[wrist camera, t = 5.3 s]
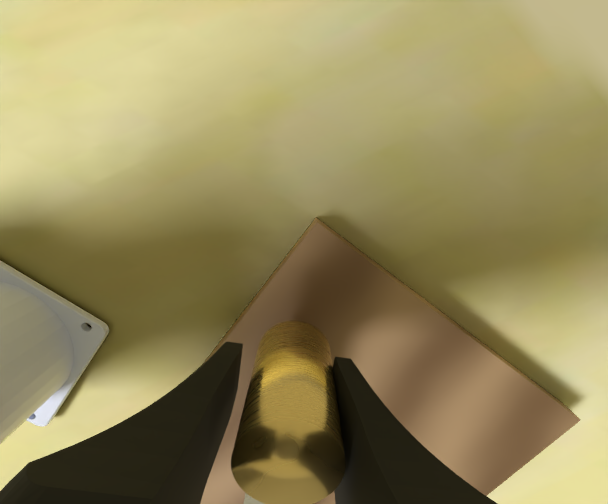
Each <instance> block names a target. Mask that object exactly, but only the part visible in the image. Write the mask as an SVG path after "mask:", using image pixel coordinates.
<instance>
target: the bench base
mask: <svg viewBox="0 0 608 504" xmlns="http://www.w3.org/2000/svg"><path fill="white" fill-rule="evenodd" d="M294 320H296V321H303V322H306V323H309V324H311V325H313V326H315V327H317V328H318V329H319V330H320V331H321V332H322V333H323V334H324V335H325V337H326V338H327V340H328V342H329V346H330V352H331V360H332V367H333V364H334V359H335V357H342V358H350V359H352V361H353V362H354V364H355V365H356V367H357V368H358V369H359V371H360V372H361V374H362V375H363V377H364V378H365V379H366V381H367V382H368V384H369V385H370V386H371V388H372V389H373V390H374V392H375V393H376V394H377V396H378V397H379V398H380V400H381V401H382V402H383V403H384V405H385V406H386V407H387V408H388V409H389V410H390V412H391V413H392V414H393V415H394V416H395V417H396V419H397V420H398V421H399V422H400V423H401V424H402V425H403V426H404V427H405V428H406V429H407V430H408V431H409V432H410V433H411V434H412V435H413V436H414V437H415V438H416V439H417V440H418V441H419V442H420V443H421V444H422V445H423V446H424V447H425V448H426V449H427V450H428V451H430V452H431V453H432V454H433V455H434V456H435V457H437V458H438V459H439V460H440V461H441V462H442V463H443V464H445V465H446V466H447V467H448V468H449V469H451V470H452V471H453V472H454V473H456V474H457V475H458V476H459V477H461V478H462V479H463V480H465V481H466V482H467V483H469V484H470V485H471V486H473V487H474V488H475V489H477V490H478V491H479V492H481V493H482V494H484V495H485V496H487V495H488V494H489V493H490V492H492V491H493V490H494V489H495V488H497V487H498V486H499V485H500V484H502V483H503V482H504V481H505V480H507V479H508V478H509V477H510V476H512V475H513V474H514V473H515V472H517V471H518V470H519V469H520V468H522V467H523V466H524V465H525V464H527V463H528V462H529V461H530V460H532V459H533V458H534V457H535V456H536V455H538V454H539V453H540V452H541V451H543V450H544V449H545V448H546V447H548V446H549V445H550V444H551V443H553V442H554V441H555V440H556V439H558V438H559V437H560V436H561V435H563V434H564V433H565V432H566V431H568V430H569V429H570V428H571V427H573V426H574V425H575V424H576V423H578V422H579V421H580V419H579V418H578V417H577V416H576V415H575V414H574V413H573V412H572V411H571V410H570V409H568V408H567V407H566V406H565V405H564V404H563V403H562V402H560V401H559V400H558V399H557V398H555V397H554V396H553V395H551V394H550V393H549V392H547V391H546V390H545V389H543V388H542V387H541V386H539V385H538V384H537V383H535V382H534V381H533V380H531V379H530V378H529V377H527V376H526V375H525V374H523V373H522V372H521V371H519V370H518V369H517V368H515V367H514V366H513V365H511V364H510V363H509V362H507V361H506V360H505V359H503V358H502V357H501V356H499V355H498V354H497V353H495V352H494V351H493V350H491V349H490V348H489V347H487V346H486V345H485V344H483V343H482V342H481V341H479V340H478V339H477V338H476V337H474V336H473V335H472V334H470V333H469V332H468V331H466V330H465V329H464V328H462V327H461V326H460V325H458V324H457V323H456V322H454V321H453V320H452V319H450V318H449V317H448V316H446V315H445V314H444V313H442V312H441V311H440V310H438V309H437V308H436V307H434V306H433V305H432V304H430V303H429V302H428V301H426V300H425V299H424V298H422V297H421V296H420V295H418V294H417V293H416V292H414V291H413V290H412V289H410V288H409V287H408V286H406V285H405V284H404V283H402V282H401V281H400V280H398V279H397V278H396V277H395V276H393V275H392V274H391V273H389V272H388V271H387V270H385V269H384V268H383V267H381V266H380V265H379V264H377V263H376V262H375V261H373V260H372V259H371V258H369V257H368V256H367V255H365V254H364V253H363V252H361V251H360V250H359V249H357V248H356V247H355V246H353V245H352V244H351V243H349V242H348V241H347V240H345V239H344V238H343V237H341V236H340V235H339V234H337V233H336V232H335V231H333V230H332V229H331V228H329V227H328V226H327V225H325V224H324V223H323V222H321V221H320V220H319V219H317V218H315V219H314V221H313V222H312V223H311V225H310V226H309V227H308V228H307V230H306V231H305V232H304V234H303V235H302V236H301V238H300V239H299V240H298V241H297V243H296V244H295V245H294V247H293V248H292V249H291V250H290V252H289V253H288V254H287V256H286V257H285V258H284V260H283V261H282V262H281V263H280V265H279V266H278V267H277V269H276V270H275V271H274V272H273V274H272V275H271V276H270V278H269V279H268V280H267V282H266V283H265V284H264V285H263V287H262V288H261V289H260V291H259V292H258V293H257V294H256V296H255V297H254V298H253V300H252V301H251V302H250V304H249V305H248V306H247V307H246V309H245V310H244V311H243V313H242V314H241V315H240V316H239V318H238V319H237V320H236V322H235V323H234V324H233V326H232V327H231V328H230V329H229V331H228V332H227V333H226V335H225V336H224V337H223V339H222V340H221V341H220V342H219V344H218V345H217V346H216V348H215V349H214V350H213V351H212V353H211V354H210V355H209V357H208V358H207V359H206V361H207V360H208V359H209V358H210V357H211V356H212V355H213V354H214V353H215V352H216V351H217V350H218V349H219V348H220V347H221V346H222V345H223V344H224V343H225V342H235V343H242V344H243V348H242V357H241V365H240V374H239V382H238V390H237V394H236V398H235V402H234V406H233V410H232V414H231V417H230V420H229V423H228V425H227V428H226V431H225V434H224V436H223V439H222V442H221V445H220V447H219V450H218V453H217V455H216V458H215V461H214V464H213V466H212V469H211V472H210V474H209V477H208V480H207V483H206V486H205V489H204V492H203V496H202V500H201V503H200V504H244V499H245V492H244V491H243V490H242V489H241V488H240V486H239V485H238V484H237V482H236V481H235V479H234V476H233V474H232V470H231V456H232V452H233V448H234V444H235V440H236V436H237V432H238V428H239V424H240V420H241V416H242V411H243V407H244V403H245V399H246V395H247V391H248V387H249V383H250V379H251V375H252V371H253V367H254V362H255V358H256V354H257V350H258V346H259V343H260V340H261V338H262V336H263V335H264V334H265V332H266V331H267V330H268V329H270V328H271V327H272V326H274V325H276V324H278V323H281V322H285V321H294ZM206 361H205V362H206ZM205 362H204V363H205ZM204 363H203V364H204ZM203 364H202V365H203ZM313 504H336V503H335V493H334V491H333V492H332V493H331V494H330V495H328V496H327V497H326V498H324V499H322V500H320V501H318V502H316V503H313Z"/></svg>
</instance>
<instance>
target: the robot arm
mask: <svg viewBox="0 0 608 504" xmlns="http://www.w3.org/2000/svg"><path fill="white" fill-rule="evenodd" d="M86 323H89V324H90V325H91V327H92V328H91V327H89V326H88V325H87V324H86ZM108 333H109V327H108V326H107V324H106V323H104V322H103V321H101V320H99V319H98V318H96V317H94V316H93V315H91V314H89V313H88V312H86V311H84V310H83V309H81V308H79V307H78V306H76V305H74V304H73V303H71V302H69V301H68V300H66V299H64V298H62V297H61V296H59V295H57V294H56V293H54V292H52V291H51V290H49V289H47V288H46V287H44V286H42V285H41V284H39V283H37V282H36V281H34V280H32V279H31V278H29V277H27V276H26V275H24V274H22V273H20V272H19V271H17V270H15V269H14V268H12V267H10V266H9V265H7V264H5V263H4V262H2V261H0V444H1V443H2V442H3V441H4V440H5V439H6V438H7V437H8V436H10V435H11V434H12V433H13V432H14V431H15V430H16V429H17V428H18V427H19V426H20V425H21V424H22V423H23V422H24V421H26V420H27V421H29V422H31V423H33V424H35V425H37V426H46V425H47V424H49V422H50V421H51V420H52V419H53V418H54V416H55V415H56V413H57V412H58V410H59V409H60V407H61V406H62V404H63V402H64V401H65V399H66V398H67V396H68V395H69V393H70V392H71V390H72V389H73V387H74V386H75V384H76V383H77V381H78V379H79V378H80V376H81V375H82V373H83V372H84V370H85V369H86V367H87V366H88V364H89V363H90V361H91V360H92V358H93V356H94V355H95V353H96V352H97V350H98V349H99V347H100V346H101V344H102V343H103V341H104V340H105V338H106V337H107V335H108ZM242 348H243V344H242V343H235V342H225V343H224V344H223V345H222V346H221V347H220V348H219V349H218V350H217V351H216V352H215V353H214V354H213V355H212V356H211V357H210V358H209V359H208V360H207V361H206V362H205V363H204V364H203V365H202V366H200V367H199V368H198V369H197V370H196V371H195V372H194V373H193V374H191V375H190V376H189V377H188V378H187V379H185V380H184V381H183V382H182V383H180V384H179V385H178V386H177V387H175V388H174V389H173V390H171V391H170V392H169V393H167V394H166V395H165V396H163V397H162V398H160V399H159V400H157V401H156V402H154V403H153V404H151V405H150V406H148V407H147V408H145V409H143V410H142V411H140V412H138V413H137V414H135V415H133V416H131V417H130V418H128V419H126V420H124V421H123V422H121V423H119V424H117V425H115V426H113V427H111V428H109V429H107V430H105V431H103V432H101V433H99V434H97V435H95V436H93V437H91V438H88V439H86V440H84V441H82V442H80V443H77V444H75V445H73V446H70V447H68V448H65V449H63V450H60V451H58V452H55V453H53V454H50V455H48V456H45V457H43V458H40V459H38V460H35V461H32V462H29V463H28V464H27V465H26V466H25V467H24V468H23V469H22V470H21V471H20V472H19V473H18V474H17V475H16V476H15V477H14V478H13V479H12V480H11V481H10V482H9V483H8V484H7V485H6V486H5V487H4V488H3V489H2V490H1V491H0V504H200V503H201V500H202V496H203V492H204V489H205V486H206V483H207V480H208V477H209V474H210V472H211V469H212V466H213V464H214V461H215V458H216V455H217V453H218V450H219V447H220V445H221V442H222V439H223V436H224V434H225V431H226V428H227V425H228V423H229V420H230V417H231V414H232V410H233V406H234V402H235V398H236V394H237V390H238V382H239V374H240V365H241V357H242ZM333 375H334V382H335V389H336V396H337V404H338V411H339V418H340V426H341V433H342V440H343V448H344V455H345V472H344V476H343V478H342V480H341V482H340V484H339V485H338V487H337V488H336V489H335V490H334V493H335V503H336V504H497V503H496V502H494V501H493V500H491V499H490V498H488V497H487V496H485V495H484V494H482V493H481V492H479V491H478V490H477V489H475V488H474V487H473V486H471V485H470V484H469V483H467V482H466V481H465V480H463V479H462V478H461V477H459V476H458V475H457V474H456V473H454V472H453V471H452V470H451V469H449V468H448V467H447V466H446V465H445V464H443V463H442V462H441V461H440V460H439V459H438V458H437V457H435V456H434V455H433V454H432V453H431V452H430V451H428V450H427V449H426V448H425V447H424V446H423V445H422V444H421V443H420V442H419V441H418V440H417V439H416V438H415V437H414V436H413V435H412V434H411V433H410V432H409V431H408V430H407V429H406V428H405V427H404V426H403V425H402V424H401V423H400V422H399V421H398V420H397V419H396V417H395V416H394V415H393V414H392V413H391V412H390V410H389V409H388V408H387V407H386V406H385V405H384V403H383V402H382V401H381V400H380V398H379V397H378V396H377V394H376V393H375V392H374V390H373V389H372V388H371V386H370V385H369V384H368V382H367V381H366V379H365V378H364V377H363V375H362V374H361V372H360V371H359V369H358V368H357V367H356V365H355V364H354V362H353V361H352V359H350V358H342V357H335V359H334V364H333Z"/></svg>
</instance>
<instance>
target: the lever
mask: <svg viewBox="0 0 608 504" xmlns="http://www.w3.org/2000/svg"><path fill="white" fill-rule="evenodd" d="M231 470H232V474H233V476H234V479H235V481H236V482H237V484H238V485H239V486H240V488H241V489H242V490H243V491H244V492H245V499H244V504H313V503H316V502H318V501H320V500H322V499H324V498H326V497H327V496H328V495H330V494H331V493H332V492H333V491H334V490H335V489H336V488H337V487H338V485H339V484H340V482H341V480H342V478H343V476H344V472H345V455H344V448H343V440H342V433H341V426H340V418H339V411H338V404H337V396H336V389H335V382H334V375H333V367H332V360H331V352H330V346H329V342H328V340H327V338H326V337H325V335H324V334H323V333H322V332H321V331H320V330H319V329H318V328H317V327H315V326H313V325H311V324H309V323H306V322H303V321H296V320H294V321H285V322H281V323H278V324H276V325H274V326H272V327H271V328H270V329H268V330H267V331H266V332H265V334H264V335H263V336H262V338H261V340H260V343H259V346H258V350H257V354H256V358H255V362H254V367H253V371H252V375H251V379H250V383H249V387H248V391H247V395H246V399H245V403H244V407H243V411H242V416H241V420H240V424H239V428H238V432H237V436H236V440H235V444H234V448H233V452H232V456H231Z"/></svg>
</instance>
